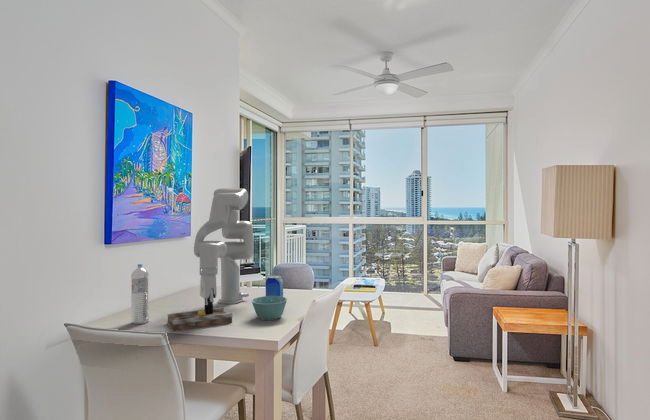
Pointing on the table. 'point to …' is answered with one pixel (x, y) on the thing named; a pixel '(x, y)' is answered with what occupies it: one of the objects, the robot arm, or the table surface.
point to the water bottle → (139, 296)
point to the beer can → (274, 286)
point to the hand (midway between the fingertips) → (208, 313)
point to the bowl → (269, 307)
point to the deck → (198, 319)
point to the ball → (201, 313)
